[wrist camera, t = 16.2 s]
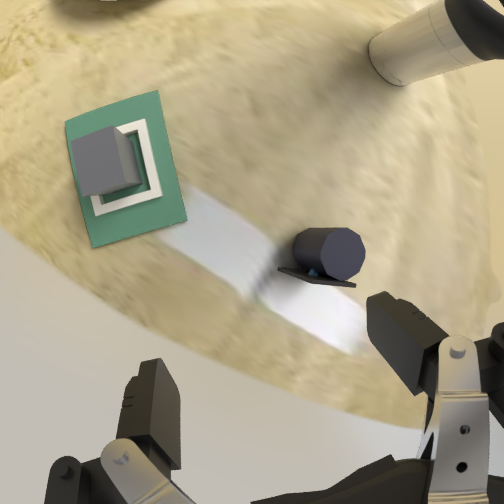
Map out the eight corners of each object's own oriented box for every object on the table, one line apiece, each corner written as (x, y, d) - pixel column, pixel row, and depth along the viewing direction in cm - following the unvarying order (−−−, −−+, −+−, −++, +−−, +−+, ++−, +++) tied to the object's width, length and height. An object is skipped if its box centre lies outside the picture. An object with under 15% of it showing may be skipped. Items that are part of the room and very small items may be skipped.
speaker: (311, 288, 40) (350, 309, 30) (276, 269, 39) (308, 286, 29) (337, 239, 40) (382, 245, 30) (304, 218, 39) (343, 218, 29)
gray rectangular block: (101, 152, 30) (70, 140, 20) (132, 141, 30) (112, 124, 21) (111, 193, 31) (82, 197, 21) (143, 183, 32) (125, 182, 22)
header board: (68, 123, 29) (59, 119, 26) (158, 92, 31) (156, 85, 28) (95, 246, 33) (89, 250, 30) (187, 219, 35) (187, 221, 32)
